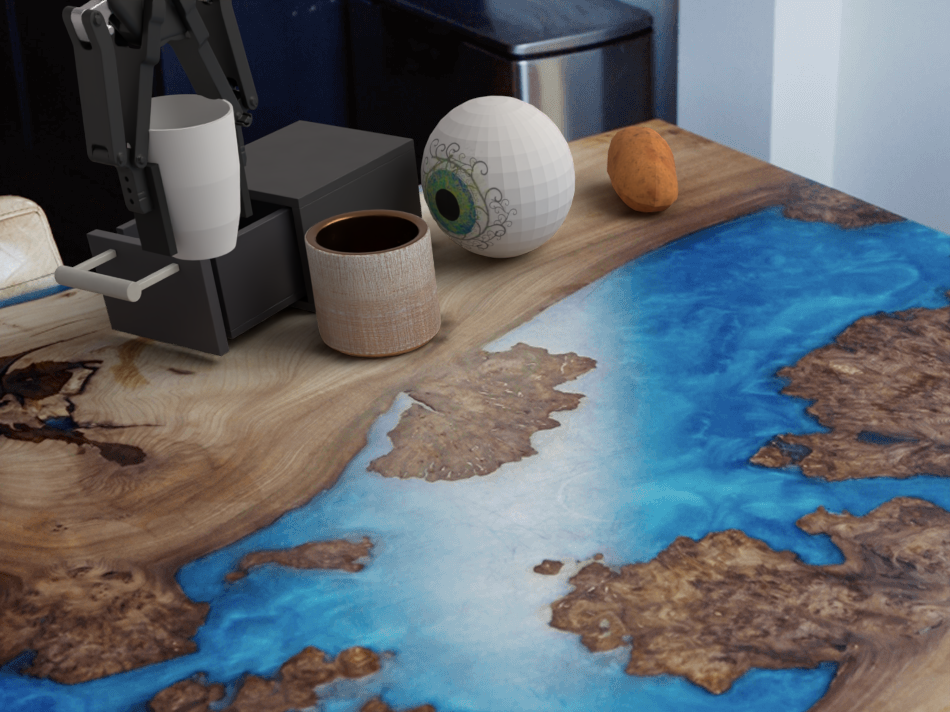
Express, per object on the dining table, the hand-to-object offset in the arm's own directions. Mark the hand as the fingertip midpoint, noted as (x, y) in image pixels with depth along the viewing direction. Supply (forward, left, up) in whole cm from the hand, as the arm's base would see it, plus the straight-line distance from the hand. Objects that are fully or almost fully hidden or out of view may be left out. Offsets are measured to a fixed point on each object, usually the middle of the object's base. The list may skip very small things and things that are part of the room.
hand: (198, 231), depth 106 cm
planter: (+1, +18, -16) cm, 24 cm away
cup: (0, 0, -1) cm, 1 cm away
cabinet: (-14, +28, -16) cm, 35 cm away
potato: (+7, +58, -16) cm, 61 cm away
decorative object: (+1, +39, -16) cm, 42 cm away
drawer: (-14, +12, -15) cm, 23 cm away
